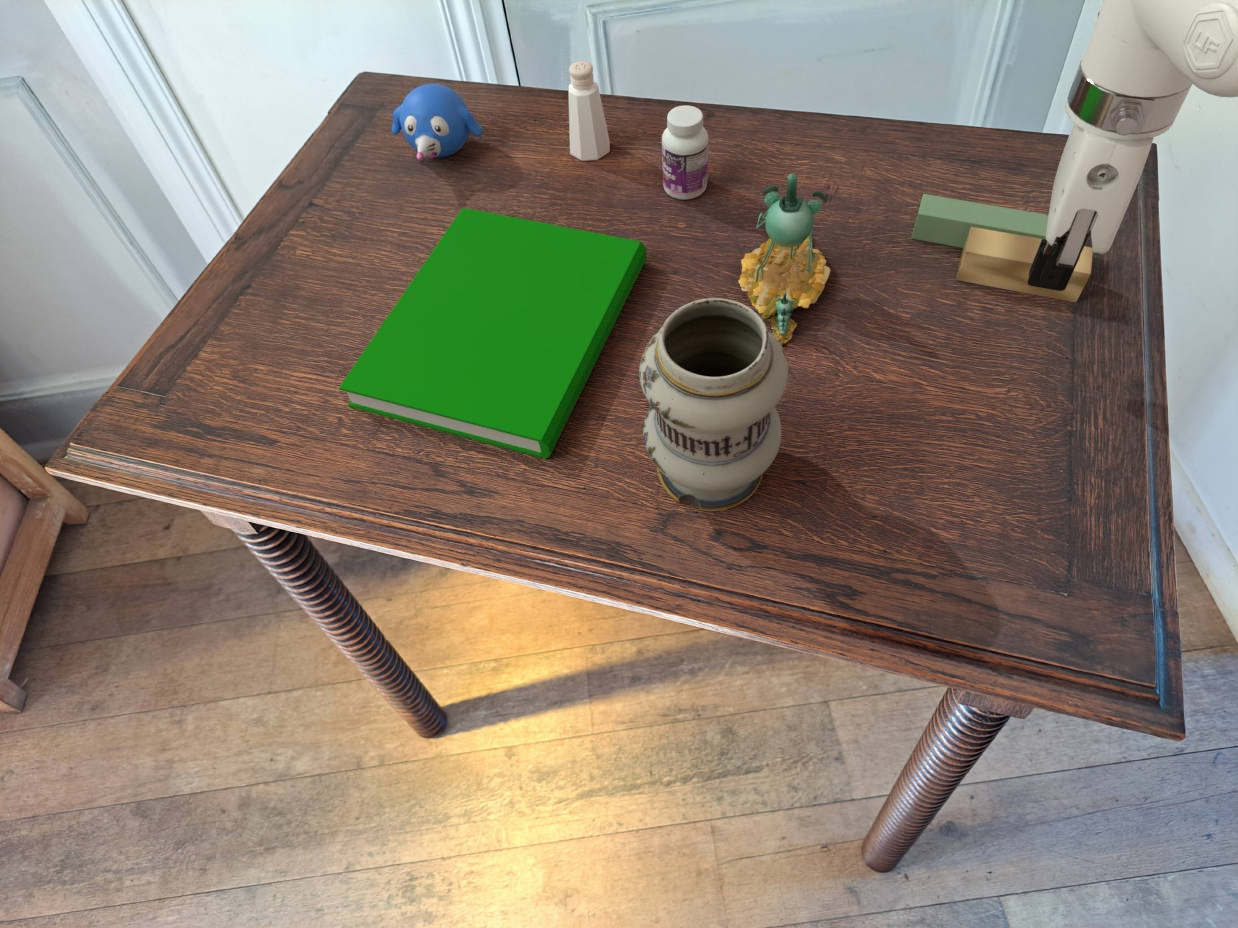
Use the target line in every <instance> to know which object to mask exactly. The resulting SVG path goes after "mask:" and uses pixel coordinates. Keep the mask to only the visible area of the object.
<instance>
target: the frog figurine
mask: <svg viewBox="0 0 1238 928" xmlns="http://www.w3.org/2000/svg"><path fill="white" fill-rule="evenodd" d="M797 188H798V175H796V174H795V173H789V174H787V179H786V194H785V195H782V196H780V194H779V193H778V192H779V187H778V186H775V185H770V186H768V187H766V188H764V190H763V191H762V196H765V197H764V200H763V202H764V204H765V206H767V207H769V208H768V209H767V210H766V212H765V213H763V212H760V213H759V215H758V218H757V219H758V220H757V222H756V223H757V224H756V226H755V229H759V228H760V227H761V226H763V224H765V231H766V234H767V236H768V237H769V238H768V240H767V241H765V242H762V243H761V244H760V246H759V247H758V248H757V247H756V248H755V249H754V250H752V252H747V253H745V254H744V257H743V258H742V259H741V260H740V263H741V264H740V265H741V267H742V268H741V273H740V275H739V279H738V284H739V286H740V288H741V291H742V292H746V293H747V294H745V296H746V297H747V298H748V299H749V301H750V303H751V306H752V307H754V309H755V310H756V311H757V312H758V313H759V315H760V314H761V318H762V319H767V321H768V322H770V324H769V325H770V327H771V330H772V333H773V334H774V336H775V337H776V338H777V339H778V341H779V342H780V344H781V346H783V345H784V344H787V343H788V342H790V340H792V339H793V333H794V330H795V329H796V328H797V327H798V323H797V322H795V319H792V318H791V315H792V314H793V312H794V309H797V308H798V307H800V308H801V307H802V308H804V309H809V307H810V305H813V304H815V303H816V302H817V301H818V299H819V297H820V295H821V294H822V292H823V291H824V289H825V286H826V285H825V284H826V283H827V281H828V279H829V277H830V273H831V268H830V267H829V266H827V265H826V263H827V260H826V259H825V258H826V257H825V255H823V252H822V251H820V250H819V249H818V248H813V227H814V215H816V214H818V213H819V212H820V210H821V208H822V207H821V206H822V202H821V201H819V200H818V199H811V200H809V201H808V202H806V201H805V200H804V199H803V198H801V196H798V195H797V192H798V191H797V190H798V189H797ZM779 196H780V197H779ZM811 196H812V197H813V198H815V197H816V198H817V197H818V198H820V199H821V200H822V201H823V202H824V204H826V203H827V201H828V198H827V197H826V195H825V194H824V193H823V192H822V191H819V190H817V191H813V192H812V195H811ZM762 219H764V220H762ZM761 220H762V221H761ZM776 314H777V315H776ZM771 316H772V317H771ZM770 317H771V318H770Z"/></svg>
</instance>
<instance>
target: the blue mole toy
mask: <svg viewBox="0 0 1238 928" xmlns="http://www.w3.org/2000/svg"><path fill="white" fill-rule="evenodd" d="M390 129H391V132H392V134H393V135H396V136H397V135H398V134H399V133H400V132H401V131H402V133H403V136H404V138H405V140H406V141H407V143H408V144H409V145H410V147H412V149H413V150H415V151H416V152H417V153H416V160H418V161H419V162H420V161H423V160H424V158H428V159H435V158H436V159H437V158H438V159H439V158H440V159H441V158H445V157H449V156H452V155H454V154H455V153H457V152H459V150H461V149H462V148H463V146H464V145H465V144H466V142H467V140H468V137H469V135H470V133H471V134H472V135H473V136H475V137H481V136H482V135H483V132H484V129H483V127H482V126H481V124H480V123H479V122H478V121H477V120H476V119H475V118H474V116H473V114H472V113H471V112H470V110H469V109H468V107H467V105H466V102H465V101H464V99H463V98H462V96H460V94H459V93H457V91H455V90H454V89H452V88H451V87H450V86H447V85H444V84H441V83H425V84H422V85H418V86H417V87H414V88H413V89H412V90H411V91H410V92H409V93H408V94H407V95H406V96H405V98H404V100H403V102H402V103H401V105H399V106H397V107H396V108H395V109H394V110H393V112H392V125H391V128H390Z"/></svg>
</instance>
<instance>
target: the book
mask: <svg viewBox="0 0 1238 928" xmlns="http://www.w3.org/2000/svg"><path fill="white" fill-rule="evenodd" d="M646 261H647V246H646V245H645V244H643V242H642V241H639V240H636V239H629V238H624V237H619V236H615V235H614V236H613V235H609V234H603V233H598V232H593V231H588V230H583V229H576V228H572V227H566V226H563V225H556V224H550V223H545V222H540V221H536V220H529V219H524V218H519V217H514V216H509V215H503V214H498V213H492V212H487V211H482V210H478V209H473V208H467V207H462V208H461V209H460V211H459V212H458V213H457V215H456V217H455V218H454V220H452V223H451V224H450V225H449V227H448V228H447V230H446V231H445V232H444V234H443V235H442V237H441V238H440V240H439V241H438V243H437V244H436V246H435V247H434V249H433V250H432V251H431V253H429V256H428V257H427V259H426V260H425V261H424V263H423V265H422V266H421V267H420V269H419V270H418V272H417V273H416V275H415V276H414V278H413V279H412V281H411V282H410V283H409V284H408V286H407V288H406V289H405V290H404V292H403V293H402V295H401V297H400V298H399V300H398V301H397V302H396V304H395V305H394V307H393V308H392V310H391V311H390V312H389V313H388V315H387V317H386V319H385V320H384V321H383V322H382V324H381V326H380V327H379V328H378V330H377V332H376V333H375V334H374V335H373V337H372V338H371V340H370V341H369V343H368V345H366V347H365V349H364V351H362V353H361V355H360V356H359V358H358V359H357V360H356V362H355V363H354V365H353V366H352V368H351V369H350V370H349V372H348V373H347V375H346V377H345V378H344V380H343V381H342V382H341V384H340V386H339V387H338V389H339V391H342V392H346V394H347V396H348V397H349V399H350V400H349V402H348V404H347V406H348V407H349V408H353V409H356V410H360V411H364V412H367V413H371V414H375V415H379V416H383V417H387V418H391V419H393V420H398V421H402V422H405V423H409V424H414V425H417V426H420V427H424V428H429V429H433V430H436V431H439V432H443V433H446V434H452V435H455V436H458V437H461V438H462V437H463V438H466V439H470V440H473V441H478V442H481V443H484V444H488V445H492V446H495V447H500V448H503V449H507V450H511V451H514V452H519V453H522V454H527V455H530V456H534V457H538V458H542V459H544V460H546V459H547V458H549V457H551V455H552V453H553V451H554V448H555V447H556V445H557V442H558V441H559V439H560V436H561V434H562V432H563V430H564V428H565V426H566V424H567V422H568V421H569V418H570V416H571V414H572V412H573V410H574V408H575V406H576V404H577V402H578V400H579V398H580V396H581V394H582V391H583V390H584V388H585V385H586V383H587V382H588V379H589V377H590V375H591V373H592V371H593V369H594V367H595V365H596V363H597V361H598V359H599V357H600V355H601V353H602V351H603V348H604V347H605V345H606V343H607V341H608V339H609V336H610V334H611V332H612V330H613V328H614V326H615V324H616V322H617V320H618V319H619V316H620V314H621V312H622V310H623V308H624V306H625V304H626V301H627V299H628V298H629V296H630V293H631V291H632V289H633V288H634V286H635V283H636V281H637V279H638V277H639V275H640V273H641V271H642V269H643V267H644V265H645V263H646Z"/></svg>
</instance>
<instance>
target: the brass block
mask: <svg viewBox="0 0 1238 928" xmlns="http://www.w3.org/2000/svg"><path fill="white" fill-rule="evenodd" d="M1041 240H1042V239H1039V238H1034V237H1028V236H1022V235H1016V234H1011V233H1005V232H999V231H993V230H987V229H982V228H976V227H971V228H970V231H969V234H968V237H967V240H966V243H965V245H964V248H962V251H961V254H960V257H959V263H958V269H957V273H956V277H955V280H956V281H959V282H965V283H968V284H974V285H975V284H976V285H980V286H985V287H991V288H997V289H1002V290H1008V291H1011V292H1017V293H1023V294H1027V295H1033V296H1038V297H1042V298H1049V299H1054V300H1060V301H1065V302H1070V303H1077V302H1078V300H1079V298H1080V296H1081V294H1082V292H1083V290H1084V289H1085V286H1086V284H1087V282H1088V281H1089V279H1090V277H1091V275H1092V267H1093V255H1094V252H1093V249H1092V246H1091V247H1090V246H1086V245H1085V246H1084V248H1083V250H1082V252H1081V254H1080V258H1079V260H1078V262H1077V265H1076V267H1075V269H1074V271H1073V273H1072V276H1071V278H1070V280H1069V282H1068V284H1067V287H1066V289H1065V290H1063V291H1057V290H1051V289H1046V288H1040V287H1034V286H1030V285H1028V278H1029V271H1030V268H1031V265H1032V263H1033V260H1034V258H1035V255H1036V253H1037V250H1038V248H1039V245H1040V243H1041Z"/></svg>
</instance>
